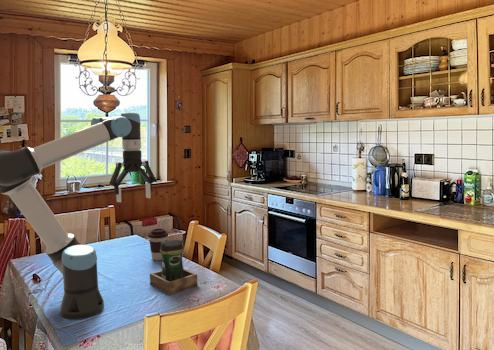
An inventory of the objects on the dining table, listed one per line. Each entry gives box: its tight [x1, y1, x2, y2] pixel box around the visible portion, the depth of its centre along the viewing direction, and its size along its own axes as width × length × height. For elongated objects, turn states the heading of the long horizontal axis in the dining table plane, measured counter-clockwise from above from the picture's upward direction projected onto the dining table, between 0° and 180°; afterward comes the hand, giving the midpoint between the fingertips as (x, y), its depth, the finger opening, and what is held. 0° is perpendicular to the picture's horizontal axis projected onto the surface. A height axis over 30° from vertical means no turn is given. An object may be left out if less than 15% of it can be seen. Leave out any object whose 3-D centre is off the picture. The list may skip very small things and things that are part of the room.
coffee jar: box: [160, 238, 184, 281], centre depth 176 cm, size 10×8×19 cm
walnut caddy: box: [149, 267, 198, 296], centre depth 177 cm, size 14×15×5 cm
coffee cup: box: [147, 228, 169, 261], centre depth 212 cm, size 10×10×15 cm
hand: (134, 200), depth 175 cm, fingers open, 13 cm apart
